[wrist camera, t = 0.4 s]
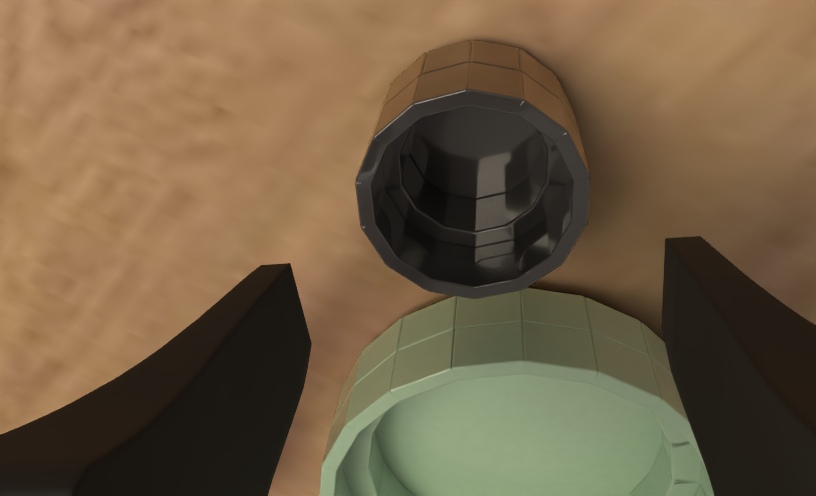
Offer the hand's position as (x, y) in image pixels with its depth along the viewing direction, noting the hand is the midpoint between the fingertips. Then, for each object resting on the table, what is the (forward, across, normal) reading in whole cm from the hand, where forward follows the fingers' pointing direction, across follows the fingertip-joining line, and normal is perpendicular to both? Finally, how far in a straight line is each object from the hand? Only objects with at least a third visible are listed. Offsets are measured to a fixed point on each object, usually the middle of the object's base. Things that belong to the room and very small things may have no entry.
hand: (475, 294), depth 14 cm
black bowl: (+8, 0, 0) cm, 9 cm away
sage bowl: (+8, 0, +12) cm, 15 cm away
